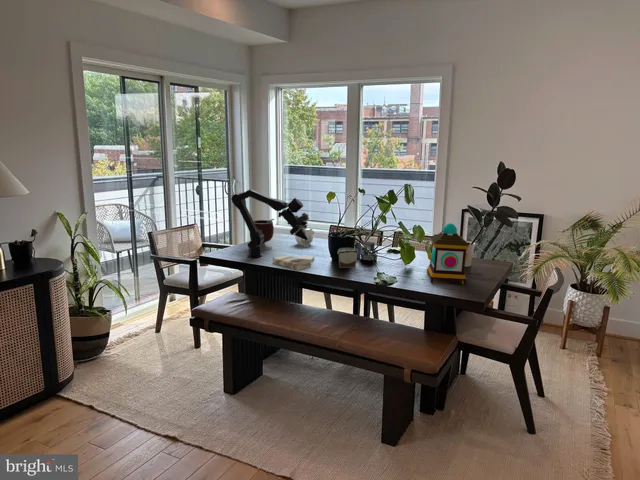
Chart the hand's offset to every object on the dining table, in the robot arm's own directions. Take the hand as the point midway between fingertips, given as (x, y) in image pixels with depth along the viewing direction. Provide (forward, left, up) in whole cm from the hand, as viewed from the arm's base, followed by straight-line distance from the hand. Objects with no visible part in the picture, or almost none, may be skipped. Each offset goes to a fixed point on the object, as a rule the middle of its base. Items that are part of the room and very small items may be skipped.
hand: (308, 238), depth 274 cm
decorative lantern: (+73, +26, -14) cm, 79 cm away
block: (-2, 0, -13) cm, 14 cm away
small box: (+19, +28, -14) cm, 37 cm away
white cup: (-1, -1, -5) cm, 5 cm away
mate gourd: (-41, +2, -14) cm, 43 cm away
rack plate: (-1, -13, -13) cm, 19 cm away
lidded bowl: (-31, +29, -14) cm, 45 cm away
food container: (+21, +8, -14) cm, 27 cm away
